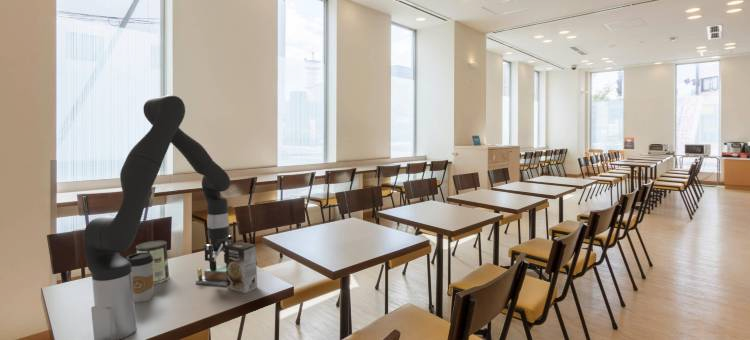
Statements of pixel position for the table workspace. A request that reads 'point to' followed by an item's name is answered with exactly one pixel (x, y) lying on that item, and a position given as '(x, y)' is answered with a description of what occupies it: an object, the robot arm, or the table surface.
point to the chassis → (209, 280)
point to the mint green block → (216, 273)
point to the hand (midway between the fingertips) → (220, 266)
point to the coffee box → (241, 266)
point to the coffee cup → (142, 275)
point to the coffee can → (157, 259)
